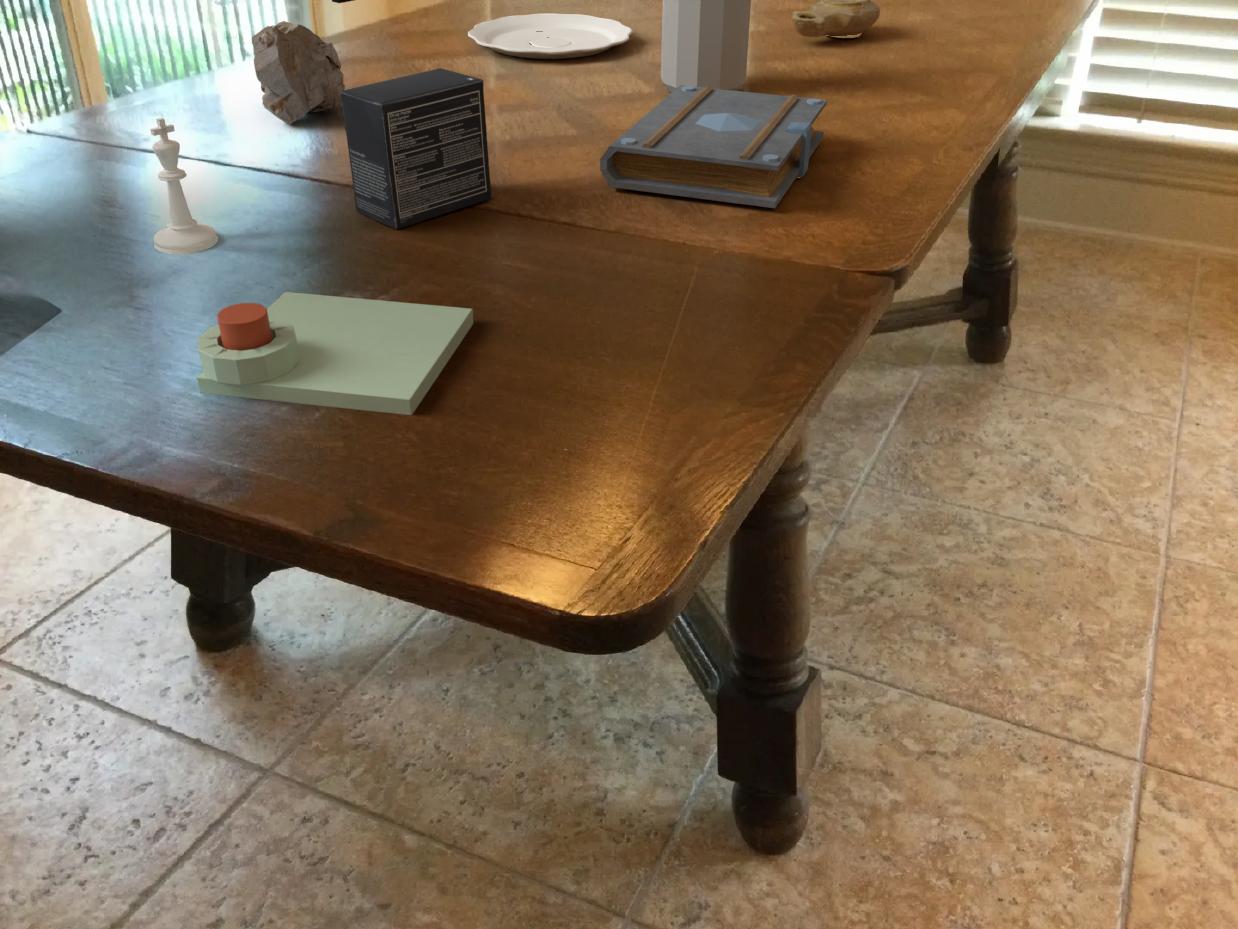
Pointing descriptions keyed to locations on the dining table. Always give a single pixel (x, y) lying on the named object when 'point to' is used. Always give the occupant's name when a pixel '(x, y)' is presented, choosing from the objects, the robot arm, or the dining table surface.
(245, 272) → the dining table surface
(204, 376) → the pale green flat block
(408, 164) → the small box
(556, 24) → the plate
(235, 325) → the button
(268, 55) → the rock
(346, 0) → the robot arm
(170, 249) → the chess piece
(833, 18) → the oil lamp
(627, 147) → the book
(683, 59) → the jar
